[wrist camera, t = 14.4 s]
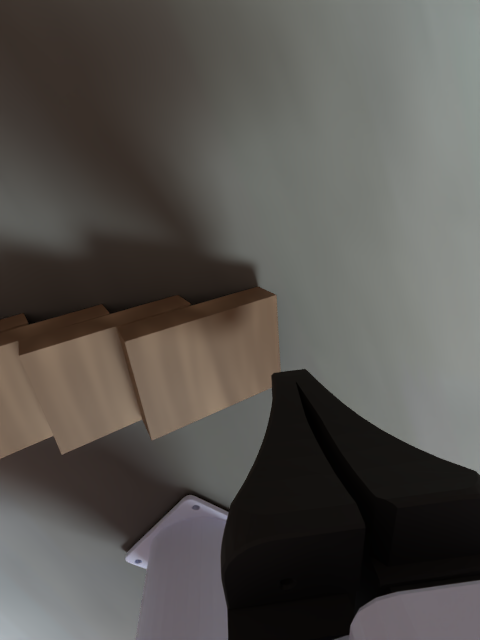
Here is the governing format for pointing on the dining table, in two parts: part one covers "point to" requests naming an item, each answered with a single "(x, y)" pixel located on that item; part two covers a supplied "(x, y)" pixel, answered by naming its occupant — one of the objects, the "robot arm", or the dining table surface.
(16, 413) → the walnut tile
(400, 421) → the dining table surface
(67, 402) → the walnut tile
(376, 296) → the dining table surface
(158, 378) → the brown wooden block
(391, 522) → the robot arm
